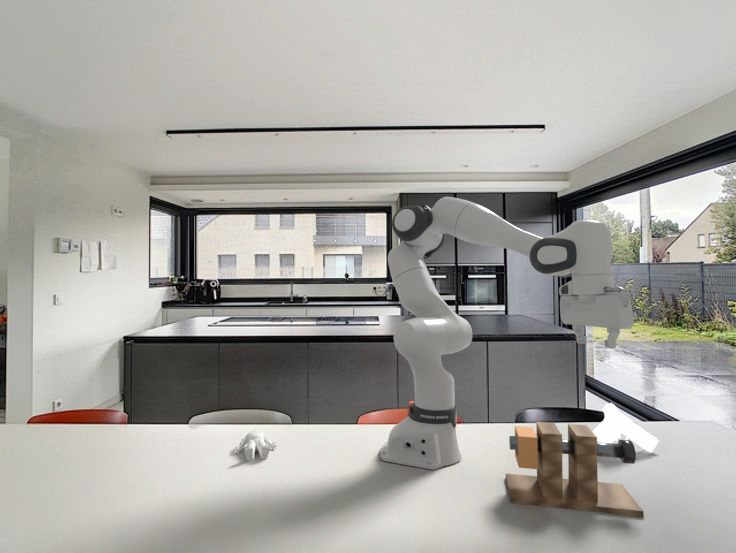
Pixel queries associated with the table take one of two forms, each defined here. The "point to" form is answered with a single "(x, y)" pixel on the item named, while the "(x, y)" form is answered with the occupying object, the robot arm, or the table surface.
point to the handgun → (622, 429)
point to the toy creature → (256, 445)
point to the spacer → (526, 448)
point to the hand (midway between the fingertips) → (595, 345)
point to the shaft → (611, 450)
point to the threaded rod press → (570, 477)
